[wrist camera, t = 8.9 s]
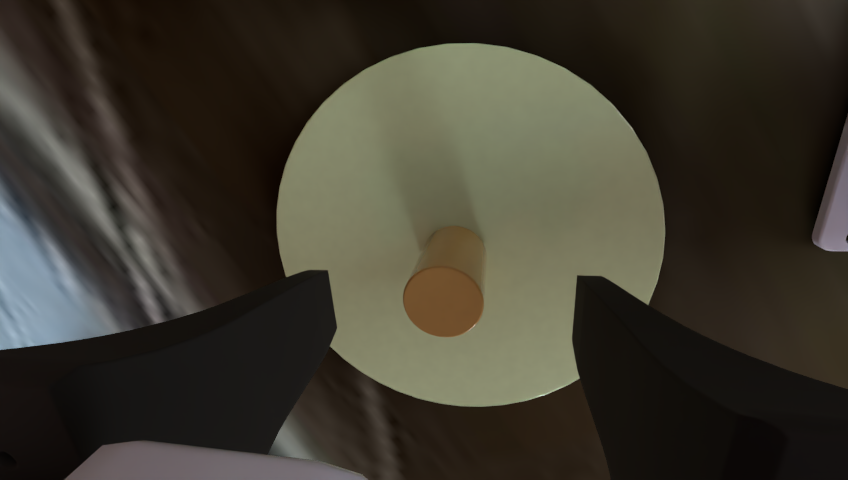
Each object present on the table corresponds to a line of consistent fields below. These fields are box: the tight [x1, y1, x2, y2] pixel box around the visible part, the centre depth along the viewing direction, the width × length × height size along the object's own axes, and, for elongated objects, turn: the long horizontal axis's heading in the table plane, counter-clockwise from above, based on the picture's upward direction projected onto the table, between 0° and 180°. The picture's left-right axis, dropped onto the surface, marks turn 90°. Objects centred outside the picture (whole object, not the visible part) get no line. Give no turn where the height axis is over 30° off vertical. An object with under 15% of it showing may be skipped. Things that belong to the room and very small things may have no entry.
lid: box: [277, 43, 665, 407], centre depth 14 cm, size 14×14×5 cm
